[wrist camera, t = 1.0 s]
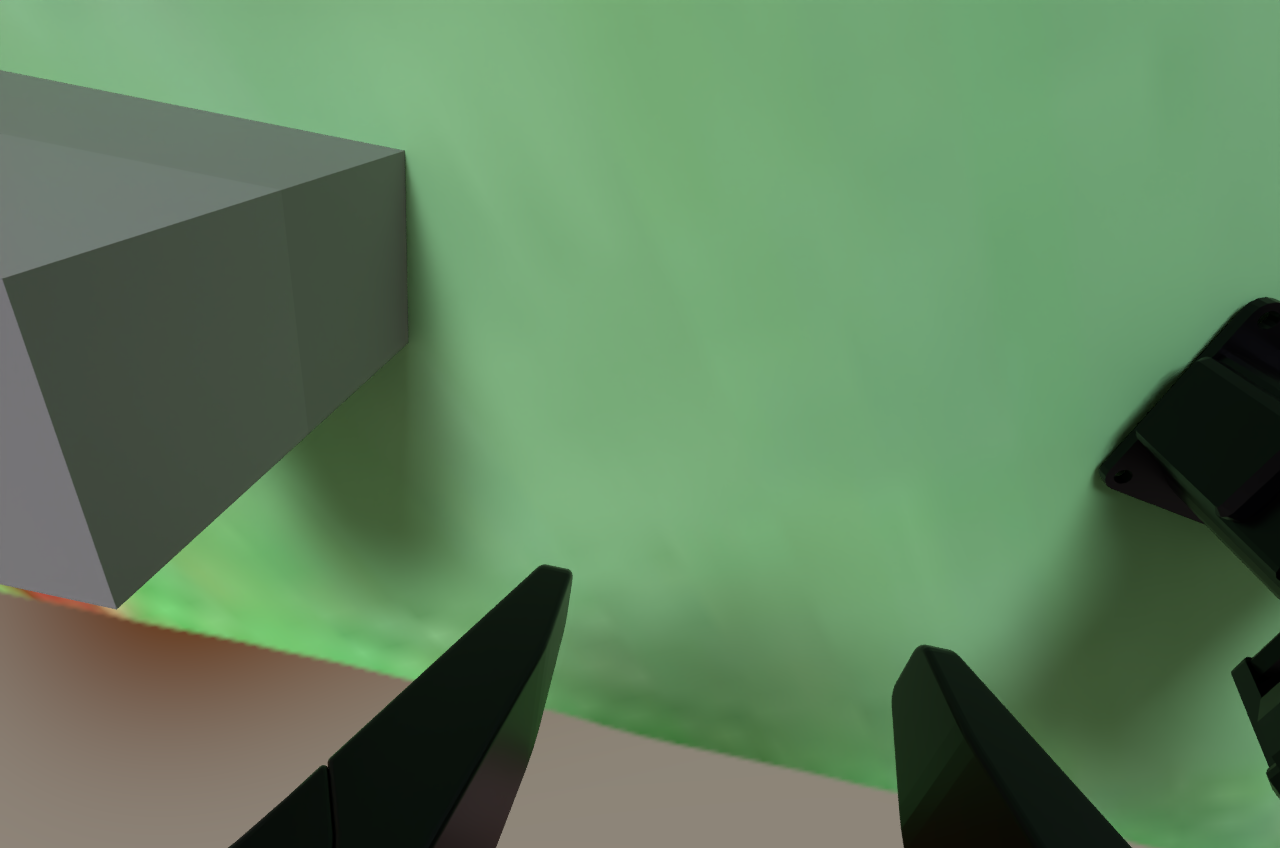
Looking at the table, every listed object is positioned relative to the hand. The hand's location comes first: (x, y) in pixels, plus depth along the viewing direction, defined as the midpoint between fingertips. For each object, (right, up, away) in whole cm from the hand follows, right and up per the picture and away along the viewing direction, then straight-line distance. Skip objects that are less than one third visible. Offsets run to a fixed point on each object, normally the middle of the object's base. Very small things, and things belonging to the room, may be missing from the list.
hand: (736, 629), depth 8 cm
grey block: (-15, +9, +12) cm, 22 cm away
